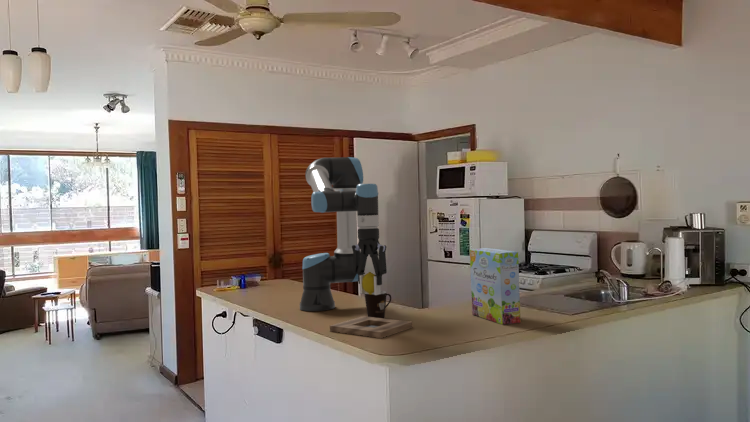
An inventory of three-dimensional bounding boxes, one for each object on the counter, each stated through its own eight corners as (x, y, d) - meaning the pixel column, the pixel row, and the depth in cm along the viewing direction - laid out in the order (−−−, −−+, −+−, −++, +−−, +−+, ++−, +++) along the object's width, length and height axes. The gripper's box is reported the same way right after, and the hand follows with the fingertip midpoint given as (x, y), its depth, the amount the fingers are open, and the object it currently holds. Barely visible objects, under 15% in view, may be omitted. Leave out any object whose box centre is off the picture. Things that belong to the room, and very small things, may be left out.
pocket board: (329, 331, 197) (329, 325, 197) (363, 321, 212) (363, 316, 212) (380, 338, 184) (380, 332, 184) (412, 327, 199) (412, 321, 199)
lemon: (378, 293, 201) (377, 270, 201) (378, 295, 196) (377, 272, 195) (362, 293, 201) (361, 271, 201) (362, 296, 195) (361, 273, 195)
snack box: (469, 315, 218) (467, 248, 218) (489, 313, 221) (487, 247, 221) (501, 325, 198) (499, 252, 198) (522, 323, 201) (520, 250, 201)
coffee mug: (368, 321, 212) (367, 295, 212) (362, 317, 220) (361, 291, 220) (397, 319, 215) (397, 292, 215) (391, 315, 223) (390, 289, 223)
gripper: (341, 228, 201) (343, 293, 201) (383, 228, 190) (385, 297, 190) (354, 227, 207) (356, 290, 207) (396, 227, 196) (398, 294, 196)
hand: (370, 293), depth 198 cm, fingers closed on lemon, 5 cm apart
